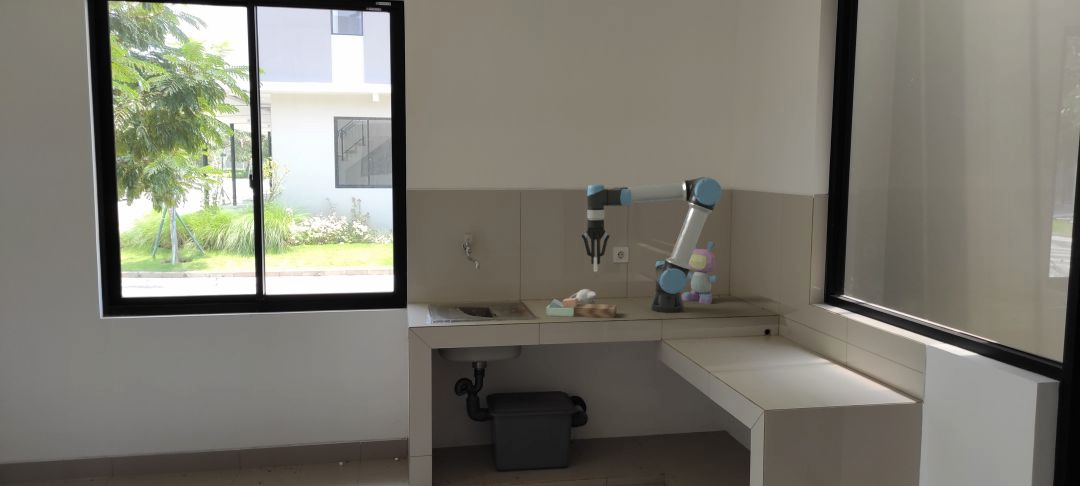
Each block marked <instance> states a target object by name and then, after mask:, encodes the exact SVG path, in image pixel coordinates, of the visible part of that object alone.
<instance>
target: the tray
mask: <svg viewBox="0 0 1080 486" xmlns="http://www.w3.org/2000/svg"><path fill="white" fill-rule="evenodd" d="M549 306H550V304H548V305H547V306H546V307H545V316H546V317H547V316H548V317H549V316H550V317H551V316H553V317H570V318H571V317H575V316H574V307H565V308H551V307H549Z"/></svg>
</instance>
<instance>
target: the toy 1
mask: <svg viewBox="0 0 1080 486" xmlns="http://www.w3.org/2000/svg"><path fill="white" fill-rule="evenodd" d="M574 297H575V298H578V303H582V304H595V302H596V297H597V294H596V292H595V291H592V290H591V289H588V288H583V289H580V290H579V291H578V292H575V293H574V294H572V295H571V296H569V298H574Z"/></svg>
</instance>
